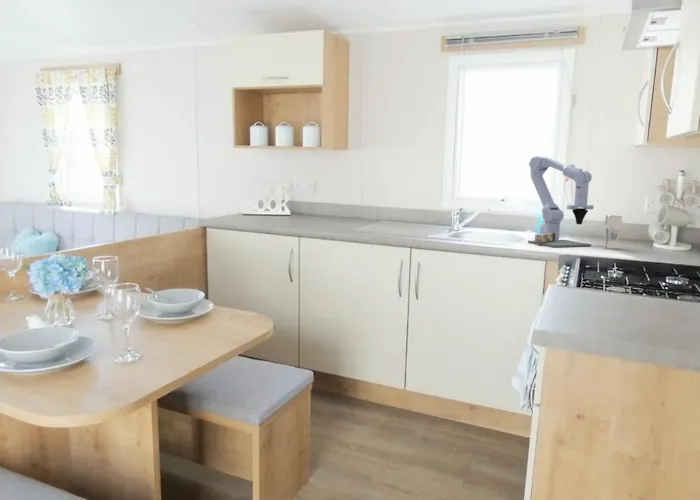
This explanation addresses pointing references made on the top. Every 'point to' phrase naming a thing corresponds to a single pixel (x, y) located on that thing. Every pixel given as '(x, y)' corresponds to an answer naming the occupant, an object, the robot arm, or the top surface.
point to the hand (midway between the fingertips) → (579, 224)
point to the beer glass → (612, 231)
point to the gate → (546, 237)
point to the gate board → (560, 243)
